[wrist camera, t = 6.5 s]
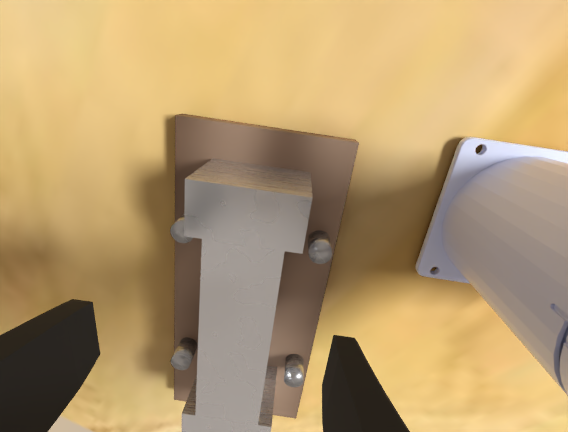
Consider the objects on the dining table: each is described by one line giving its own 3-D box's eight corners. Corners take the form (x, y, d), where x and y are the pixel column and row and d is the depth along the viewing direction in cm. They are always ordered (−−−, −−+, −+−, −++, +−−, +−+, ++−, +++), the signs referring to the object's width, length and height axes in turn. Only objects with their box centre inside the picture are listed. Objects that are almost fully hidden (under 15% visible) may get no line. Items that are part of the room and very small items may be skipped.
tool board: (355, 139, 16) (364, 148, 14) (296, 405, 23) (295, 439, 21) (183, 113, 16) (162, 117, 14) (179, 387, 23) (165, 419, 21)
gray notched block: (310, 172, 16) (312, 197, 12) (272, 393, 22) (266, 455, 18) (213, 158, 16) (184, 178, 12) (202, 382, 22) (181, 442, 18)
